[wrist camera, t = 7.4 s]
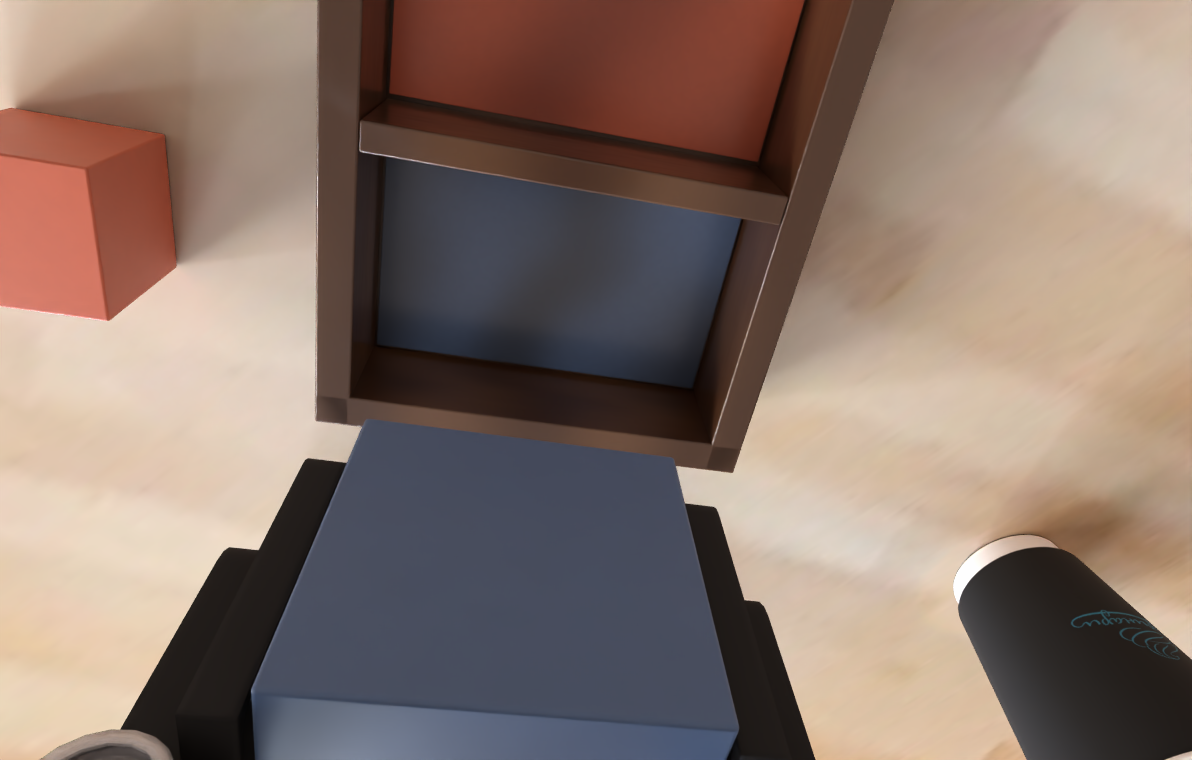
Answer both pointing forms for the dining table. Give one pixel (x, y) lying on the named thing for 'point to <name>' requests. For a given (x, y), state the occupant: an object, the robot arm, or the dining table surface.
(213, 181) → the dining table surface
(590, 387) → the sorting tray
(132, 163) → the terracotta block
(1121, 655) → the dixie cup
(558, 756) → the slate block
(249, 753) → the robot arm
